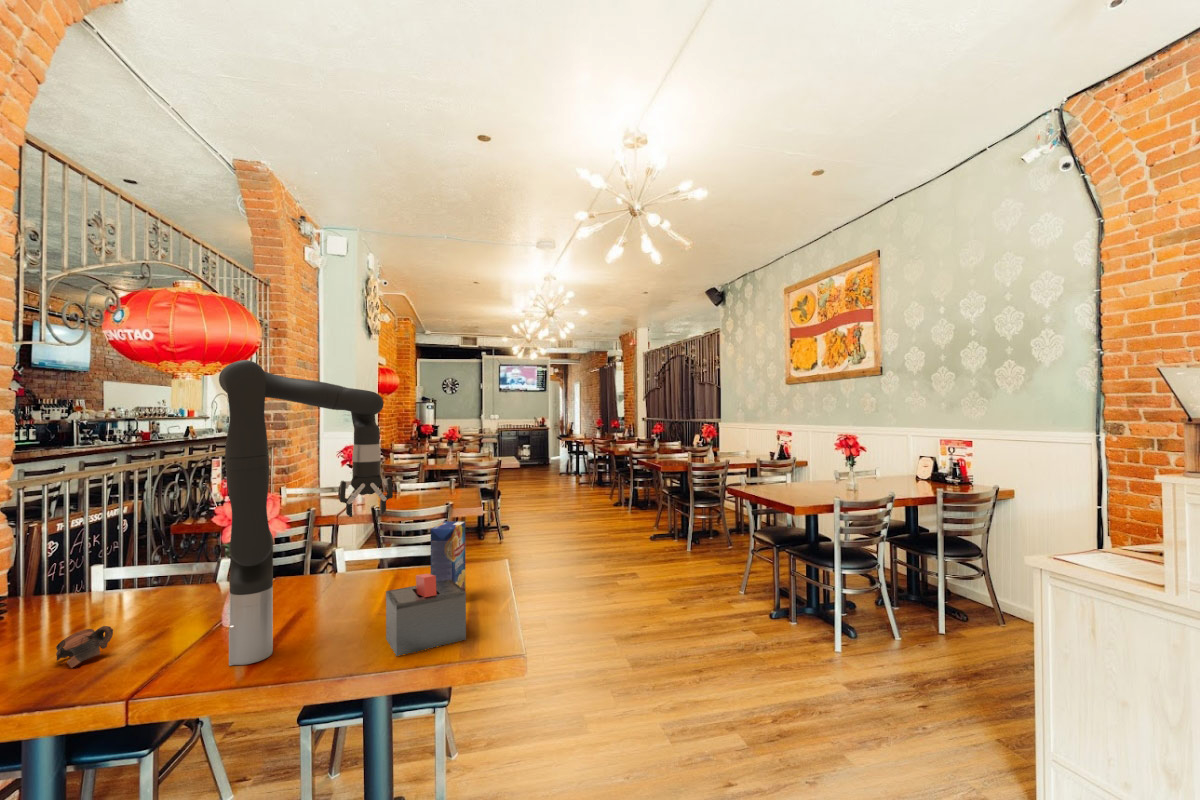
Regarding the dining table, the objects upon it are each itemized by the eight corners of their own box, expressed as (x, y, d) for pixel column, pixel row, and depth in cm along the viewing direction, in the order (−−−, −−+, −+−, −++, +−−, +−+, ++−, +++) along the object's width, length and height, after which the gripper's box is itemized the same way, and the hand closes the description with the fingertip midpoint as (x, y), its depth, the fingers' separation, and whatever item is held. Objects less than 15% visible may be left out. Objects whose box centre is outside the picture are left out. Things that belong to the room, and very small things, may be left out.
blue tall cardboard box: (453, 604, 172) (452, 529, 172) (430, 603, 173) (430, 529, 173) (465, 591, 184) (465, 521, 184) (444, 591, 185) (444, 521, 185)
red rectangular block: (424, 577, 142) (415, 575, 149) (425, 597, 141) (416, 594, 148) (435, 575, 143) (426, 573, 151) (436, 595, 143) (427, 591, 150)
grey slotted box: (396, 657, 136) (396, 605, 136) (386, 638, 147) (386, 591, 147) (465, 640, 145) (465, 592, 145) (451, 624, 156) (451, 579, 156)
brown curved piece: (55, 678, 128) (40, 651, 130) (83, 678, 137) (69, 652, 139) (109, 640, 133) (94, 614, 135) (133, 643, 141) (119, 618, 144)
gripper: (341, 462, 150) (341, 520, 150) (394, 459, 158) (394, 514, 157) (338, 459, 156) (338, 515, 156) (389, 457, 164) (389, 510, 164)
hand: (366, 515), depth 157 cm, fingers open, 8 cm apart
